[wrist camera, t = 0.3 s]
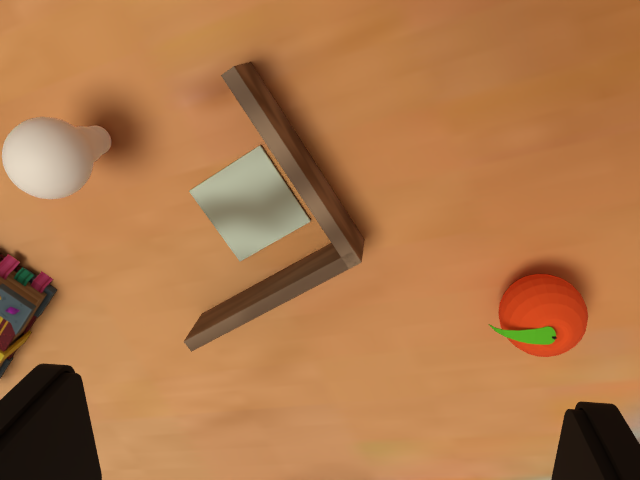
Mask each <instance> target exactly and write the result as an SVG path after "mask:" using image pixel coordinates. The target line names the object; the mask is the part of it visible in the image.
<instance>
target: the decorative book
mask: <svg viewBox="0 0 640 480" xmlns="http://www.w3.org/2000/svg"><path fill="white" fill-rule="evenodd" d="M19 263H20V262H19V261H18V260H17V259H15V258H14V257H12V256H11V255H9V254H8V255H7V256H6V257H5V256H4V255H2V254H1V253H0V378H1V377H2V375H3V373H4V372H5V370H6V369H7V367H8V365H9V364H10V362H11V361H12V359H13V358H11V357H12V356H13V354H14V353H15V351H16V350H17V348H19V347H20V346H21V345H22V344H23V343H24V342H26V340H27V339H28V337H29V335H30V334H31V331H29V329H30V328H31V326H32V325H33V323H34V321H35V320H36V318H38V317H39V316H40V315H41V314H42V312H43V311H44V309H45V308H46V306H47V305H48V303H49V302H50V300H51V299H52V297H53V296H54V294H55V293H56V291H57V289H55V288H54V287H52V286H51V285H50V284H49V283H50V282H51V281H52V280H53V279H52V278H51V277H49V276H48V275H46V274H45V273H43V272H41V273H40V274H39V275H38V276H36V275H35V274H33V273H32V272H31V271H29V270H28V269H26V268H25V269H24V268H23V267H22V268H21V267H19V266H18V264H19Z"/></svg>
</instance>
